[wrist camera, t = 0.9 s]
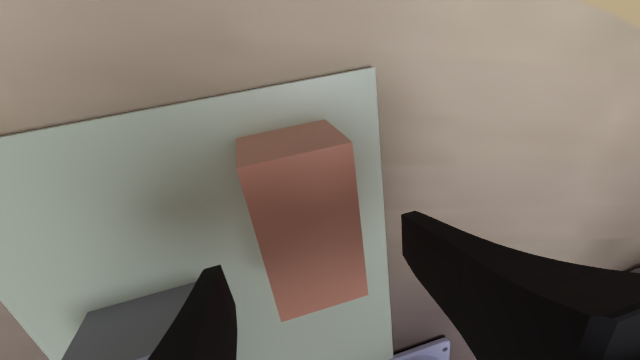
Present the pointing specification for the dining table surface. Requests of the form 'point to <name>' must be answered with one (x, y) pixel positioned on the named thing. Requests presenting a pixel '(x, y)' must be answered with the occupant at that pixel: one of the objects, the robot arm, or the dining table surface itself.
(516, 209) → the dining table surface
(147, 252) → the baseplate
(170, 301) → the grey base brick
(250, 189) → the terracotta brick
